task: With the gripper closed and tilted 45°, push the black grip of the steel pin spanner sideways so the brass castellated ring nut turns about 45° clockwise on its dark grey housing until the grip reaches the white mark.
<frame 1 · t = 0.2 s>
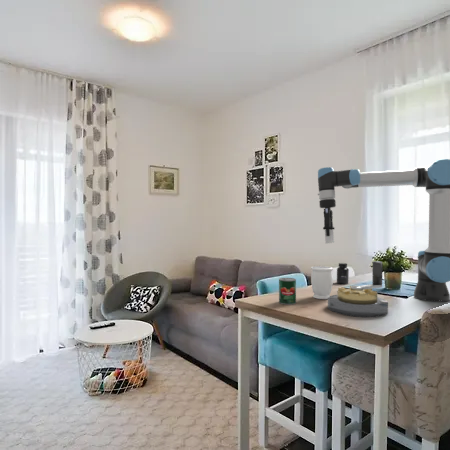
hand: (329, 243, 170), 27 cm above the table, tool pointing down, fingers open, 13 cm apart
canned tomato: (287, 303, 162), on the table
nut housing: (357, 309, 149), on the table
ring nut: (362, 280, 150), point 12 cm above the table, hinge at 0.0°
supplement bottle: (342, 283, 210), on the table
jar: (321, 298, 172), on the table
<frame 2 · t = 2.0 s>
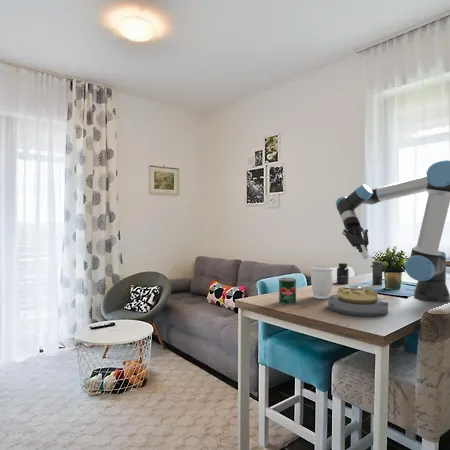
hand: (365, 257, 163), 21 cm above the table, tool tilted 45°, fingers closed
nothing on the table moved.
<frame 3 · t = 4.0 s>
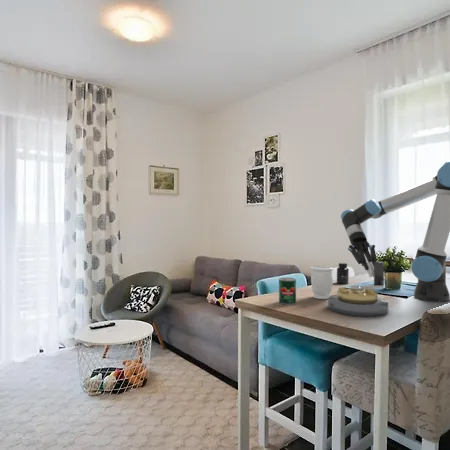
hand: (373, 275, 156), 13 cm above the table, tool tilted 45°, fingers closed
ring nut: (362, 280, 150), point 12 cm above the table, hinge at -4.0°, touching gripper
everything else where it was.
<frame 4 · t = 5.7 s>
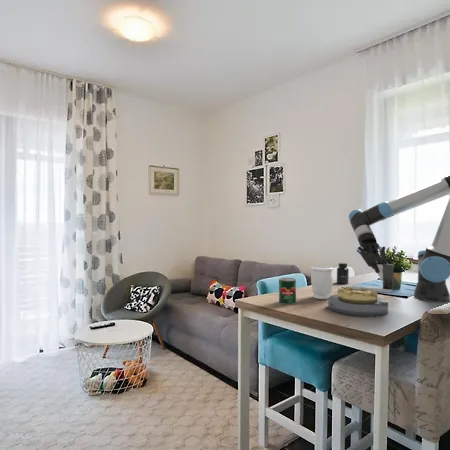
hand: (384, 278, 148), 13 cm above the table, tool tilted 45°, fingers closed, pressing on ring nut
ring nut: (364, 281, 148), point 12 cm above the table, hinge at -45.4°, touching gripper
everything else where it was.
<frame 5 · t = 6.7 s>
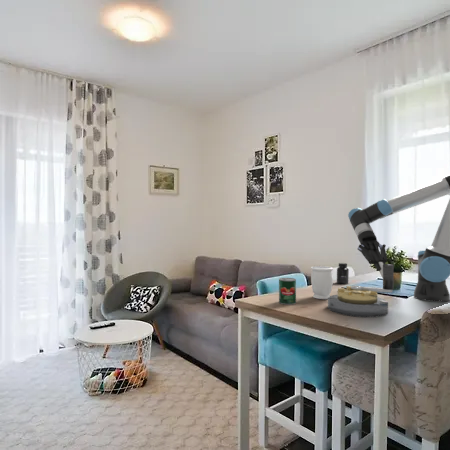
hand: (385, 275, 148), 14 cm above the table, tool tilted 45°, fingers closed
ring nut: (364, 281, 148), point 12 cm above the table, hinge at -48.2°
everything else where it was.
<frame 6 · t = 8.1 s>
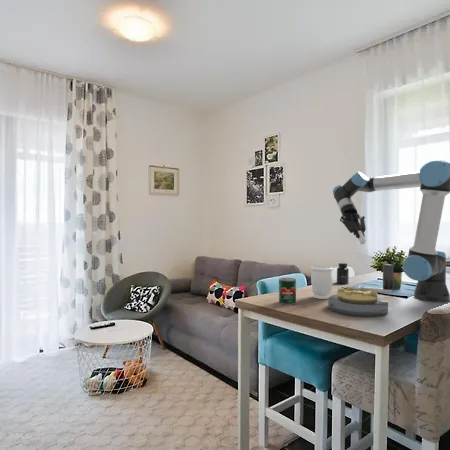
hand: (363, 242, 167), 27 cm above the table, tool tilted 45°, fingers closed
nothing on the table moved.
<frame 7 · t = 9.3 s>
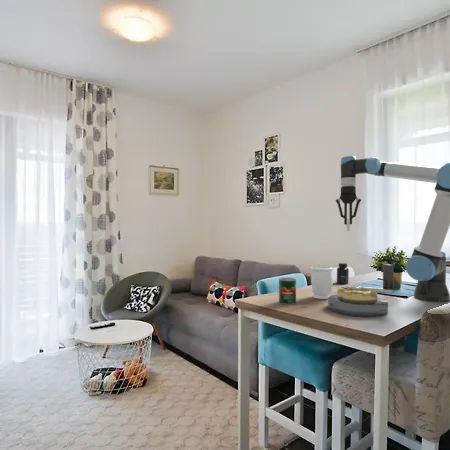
hand: (348, 230, 185), 32 cm above the table, tool pointing down, fingers closed
nothing on the table moved.
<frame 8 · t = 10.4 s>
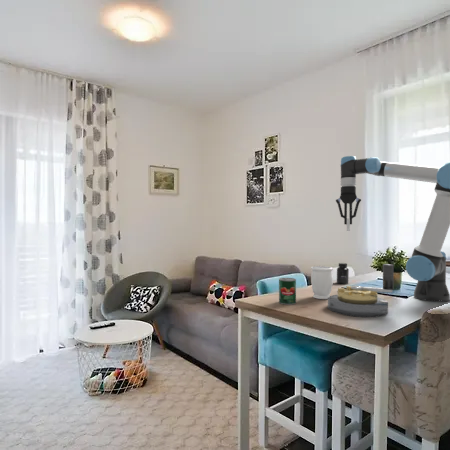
hand: (348, 230, 185), 32 cm above the table, tool pointing down, fingers closed
nothing on the table moved.
at the end: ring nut at -48° (first picture: +0°); jar moved 0.2 cm from its start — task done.
